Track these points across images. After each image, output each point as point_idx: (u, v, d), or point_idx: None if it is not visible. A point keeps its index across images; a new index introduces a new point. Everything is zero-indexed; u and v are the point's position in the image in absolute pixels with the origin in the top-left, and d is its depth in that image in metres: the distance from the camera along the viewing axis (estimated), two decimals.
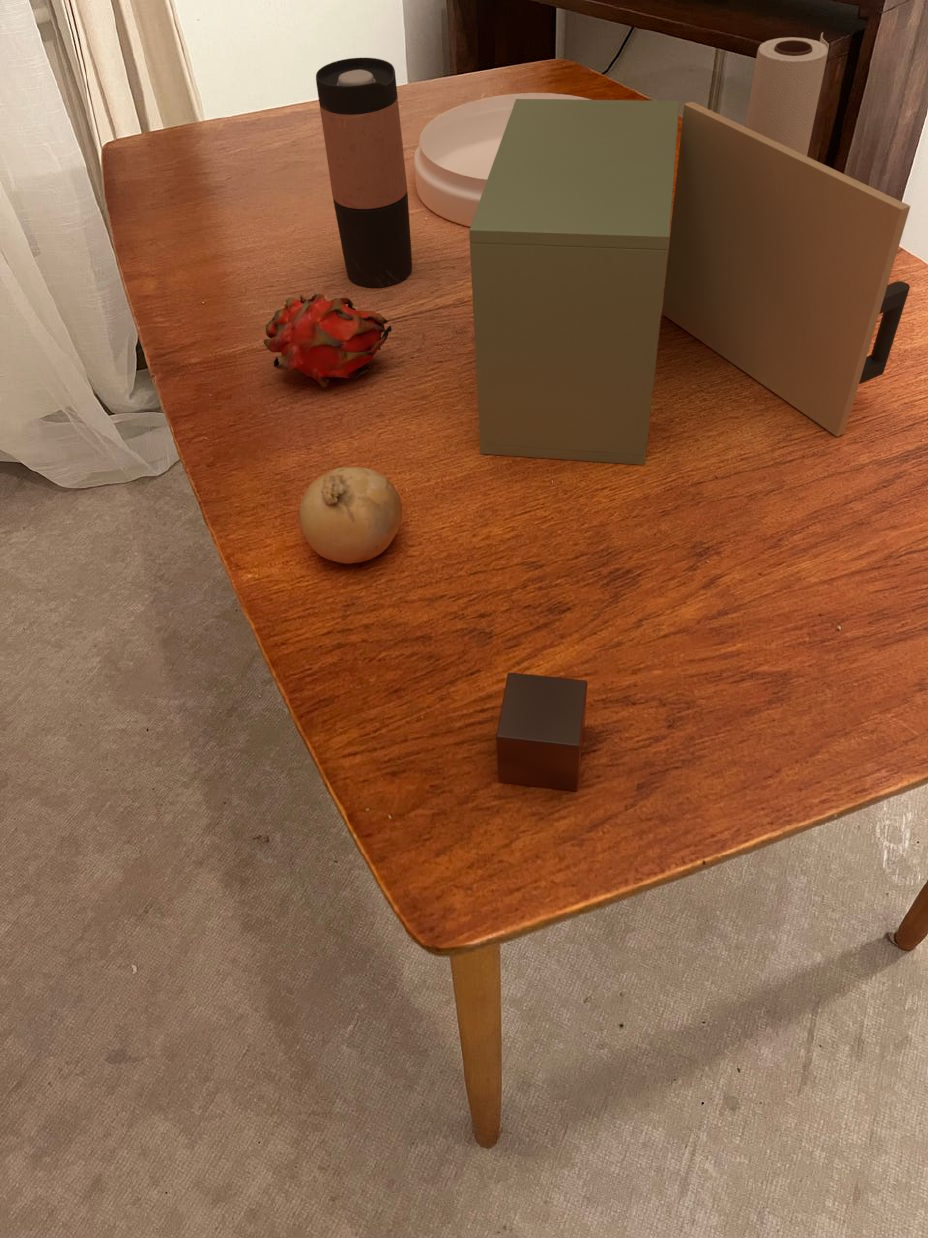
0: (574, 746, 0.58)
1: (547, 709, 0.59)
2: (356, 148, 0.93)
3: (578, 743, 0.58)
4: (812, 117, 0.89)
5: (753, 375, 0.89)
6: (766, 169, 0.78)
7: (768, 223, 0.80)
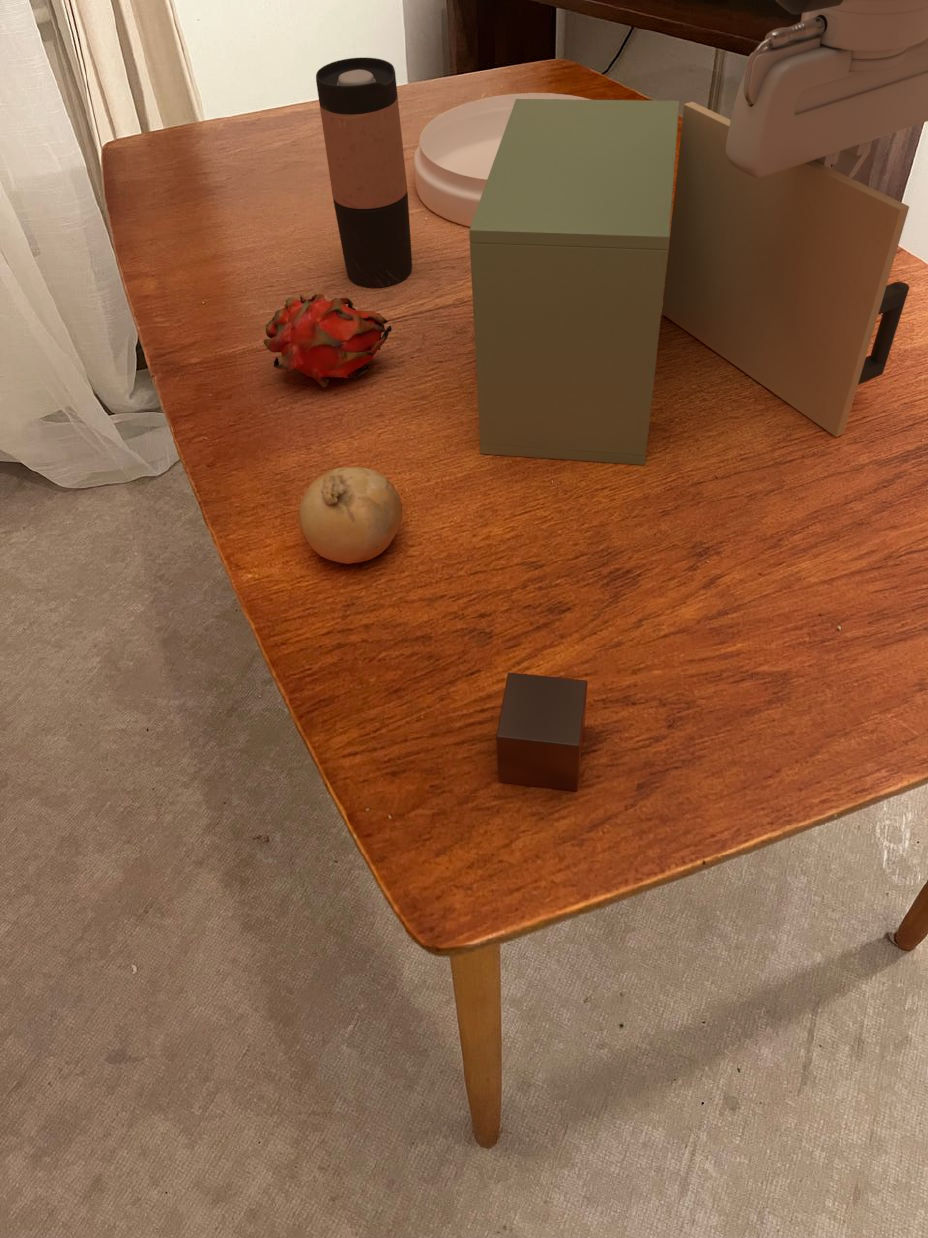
0: (574, 746, 0.58)
1: (547, 709, 0.59)
2: (356, 148, 0.93)
3: (578, 743, 0.58)
4: None
5: (753, 375, 0.89)
6: None
7: (768, 224, 0.80)
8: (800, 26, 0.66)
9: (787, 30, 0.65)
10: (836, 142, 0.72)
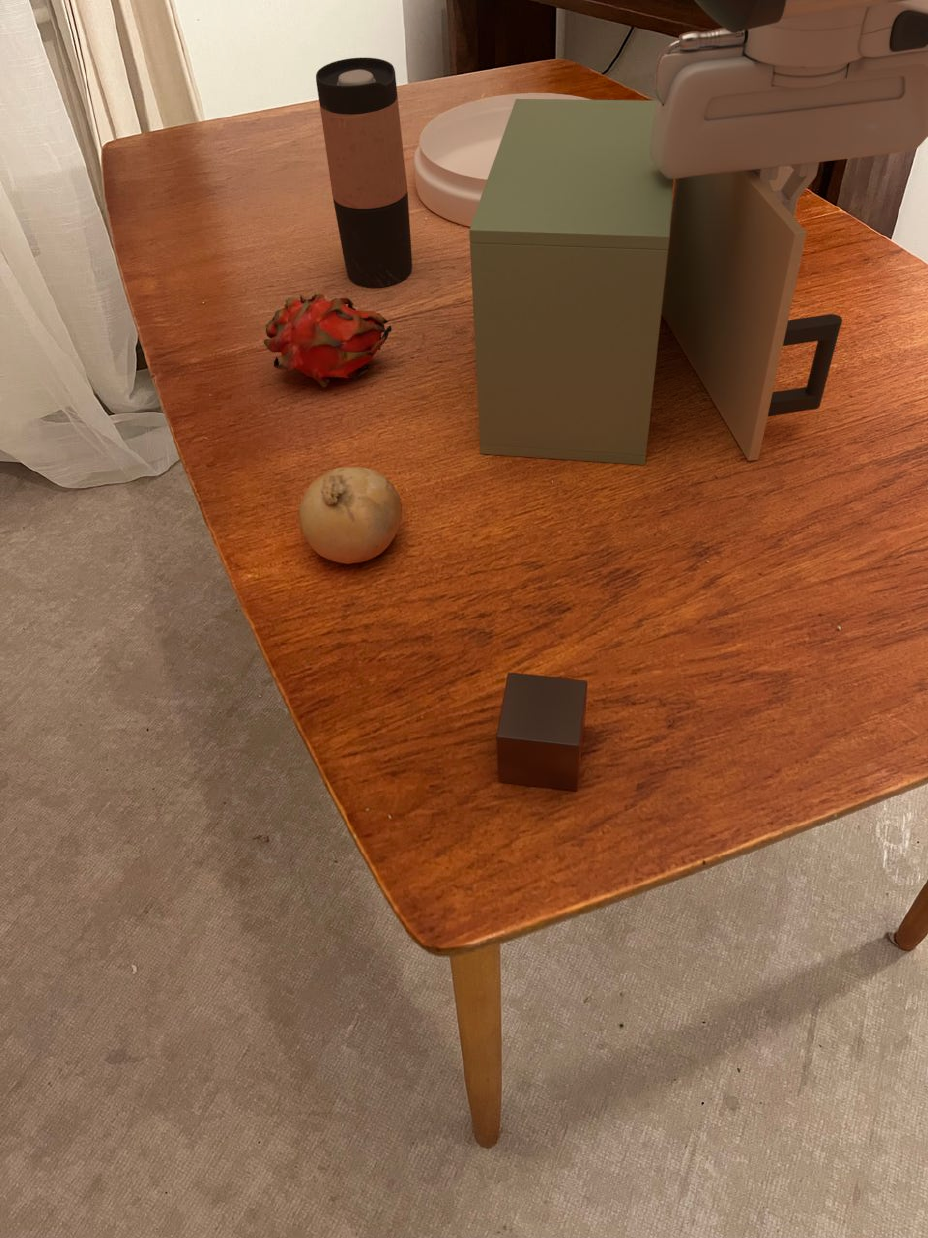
0: (574, 746, 0.58)
1: (547, 709, 0.59)
2: (356, 148, 0.93)
3: (578, 743, 0.58)
4: None
5: (706, 387, 0.88)
6: (723, 177, 0.77)
7: (722, 233, 0.79)
8: (715, 32, 0.66)
9: (698, 34, 0.66)
10: (764, 157, 0.71)
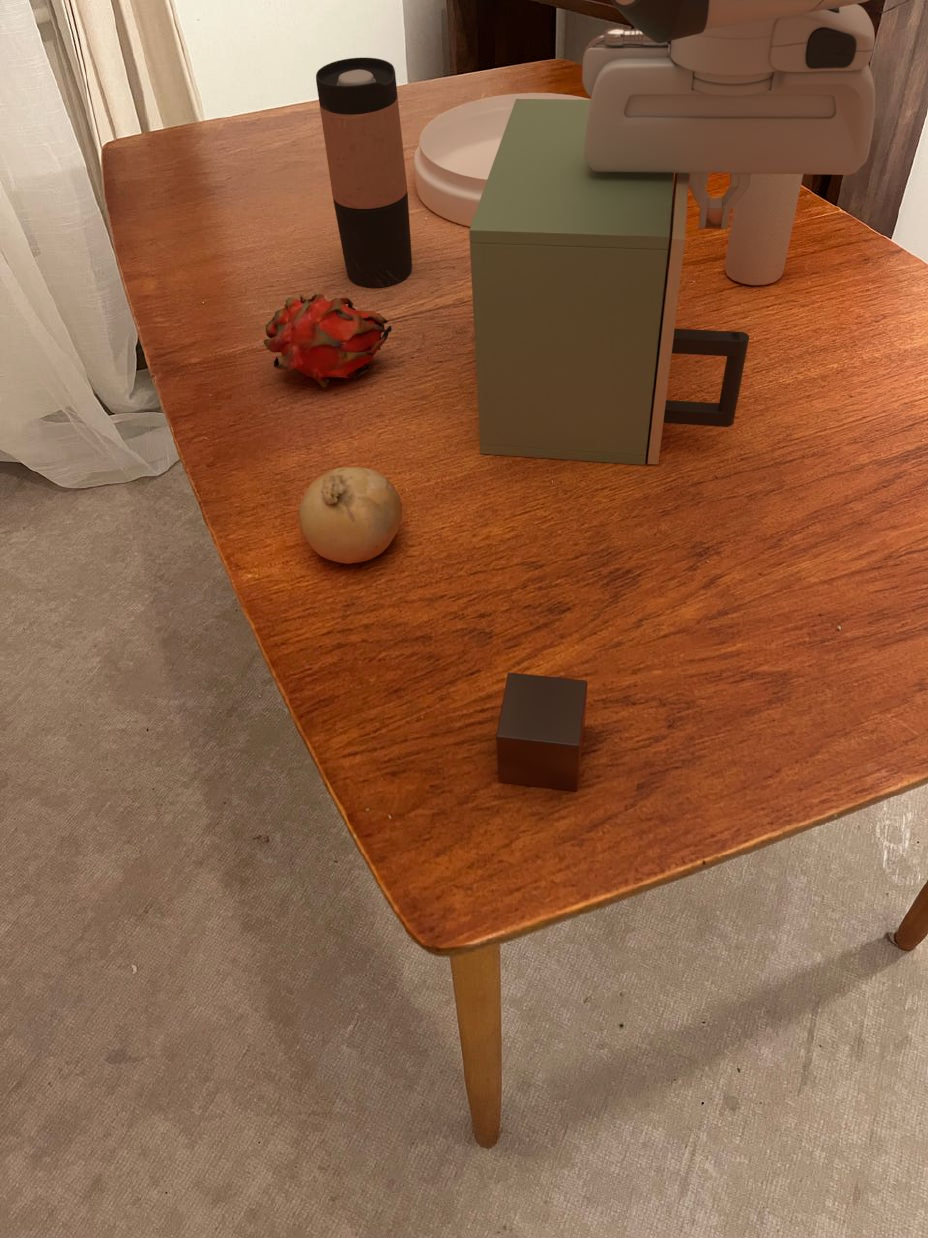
0: (574, 746, 0.58)
1: (547, 709, 0.59)
2: (356, 148, 0.93)
3: (578, 743, 0.58)
4: None
5: None
6: None
7: None
8: (639, 31, 0.67)
9: (621, 31, 0.67)
10: (688, 161, 0.71)
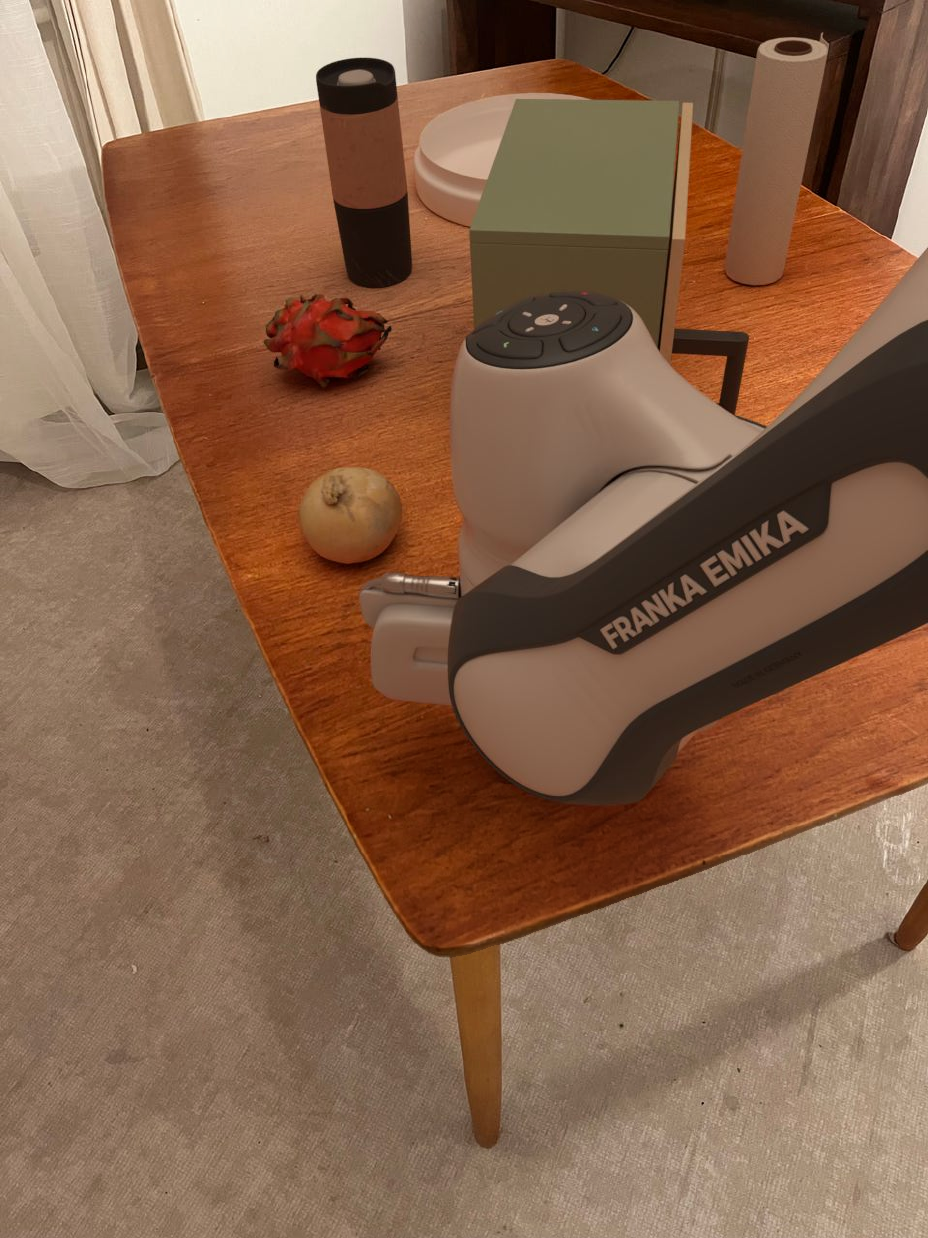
0: None
1: None
2: (356, 148, 0.93)
3: None
4: (812, 117, 0.89)
5: None
6: None
7: None
8: (423, 583, 0.53)
9: (400, 582, 0.53)
10: None
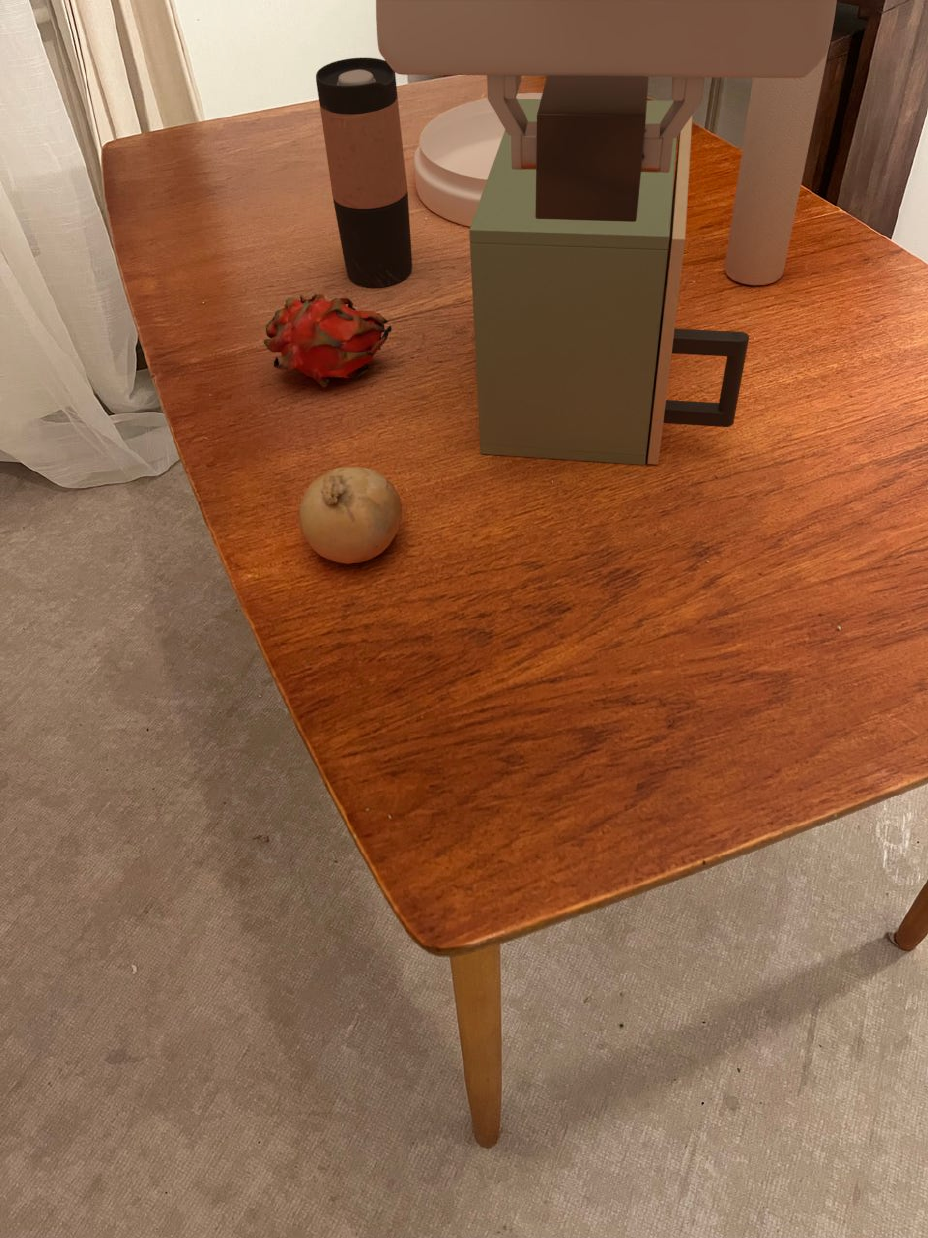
0: (639, 116, 0.45)
1: (600, 94, 0.47)
2: (356, 148, 0.93)
3: (643, 113, 0.45)
4: (812, 117, 0.89)
5: None
6: None
7: None
8: None
9: None
10: (542, 55, 0.44)
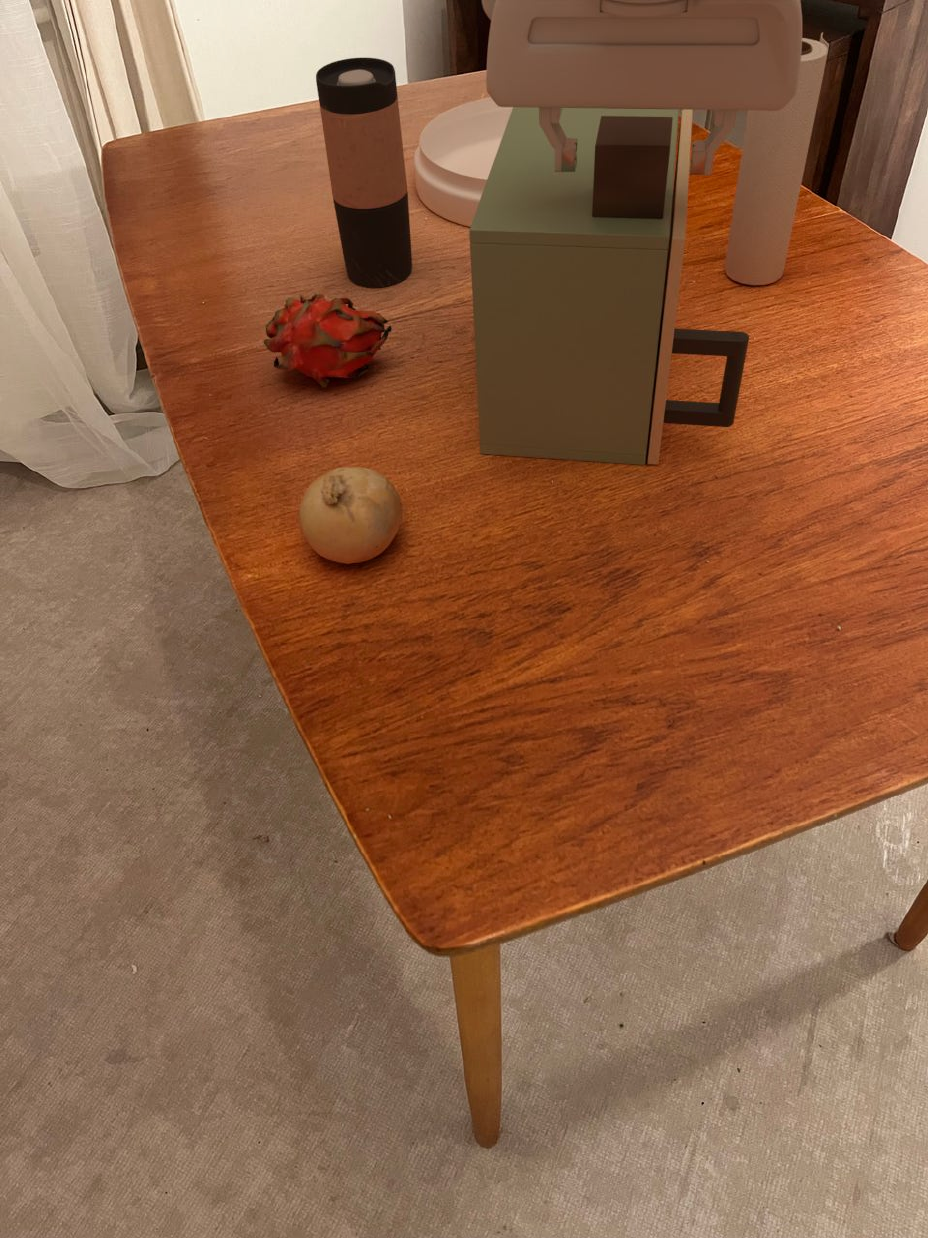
0: (665, 147, 0.65)
1: (639, 130, 0.67)
2: (356, 148, 0.93)
3: (668, 144, 0.65)
4: (812, 117, 0.89)
5: None
6: None
7: None
8: None
9: None
10: (600, 95, 0.64)
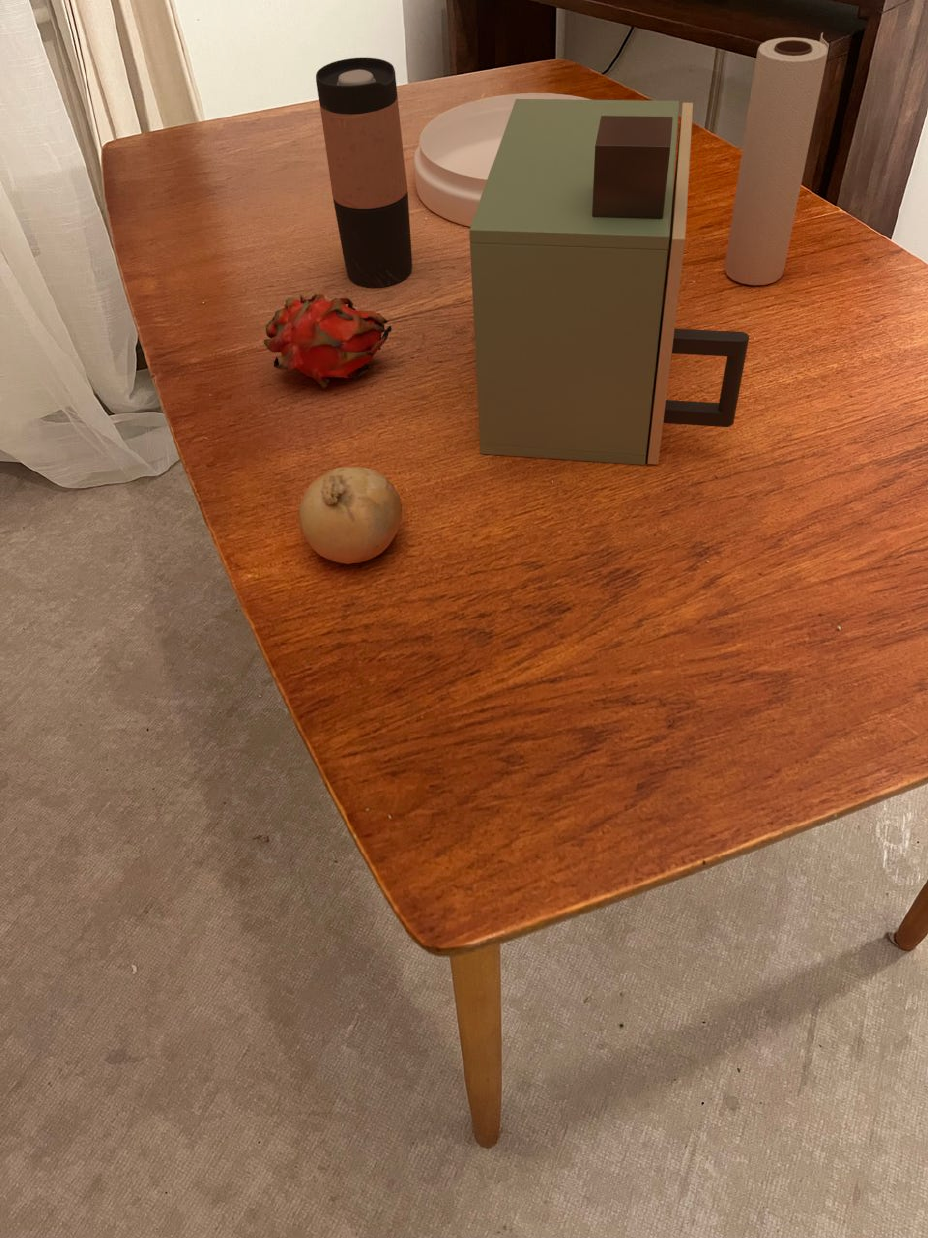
0: (665, 147, 0.65)
1: (639, 130, 0.67)
2: (356, 148, 0.93)
3: (668, 144, 0.65)
4: (812, 117, 0.89)
5: None
6: None
7: None
8: None
9: None
10: None
